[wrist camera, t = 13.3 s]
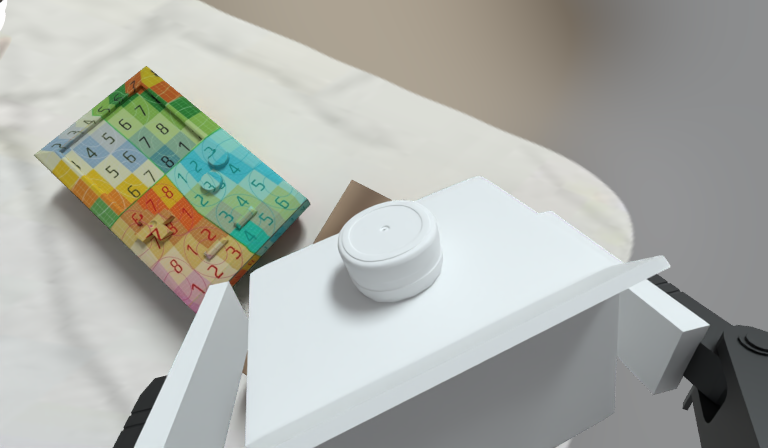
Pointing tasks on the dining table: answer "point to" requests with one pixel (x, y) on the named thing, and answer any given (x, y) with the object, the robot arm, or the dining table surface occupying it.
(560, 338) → the milk carton
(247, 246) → the puzzle game
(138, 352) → the dining table surface
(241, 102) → the dining table surface
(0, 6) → the figurine
